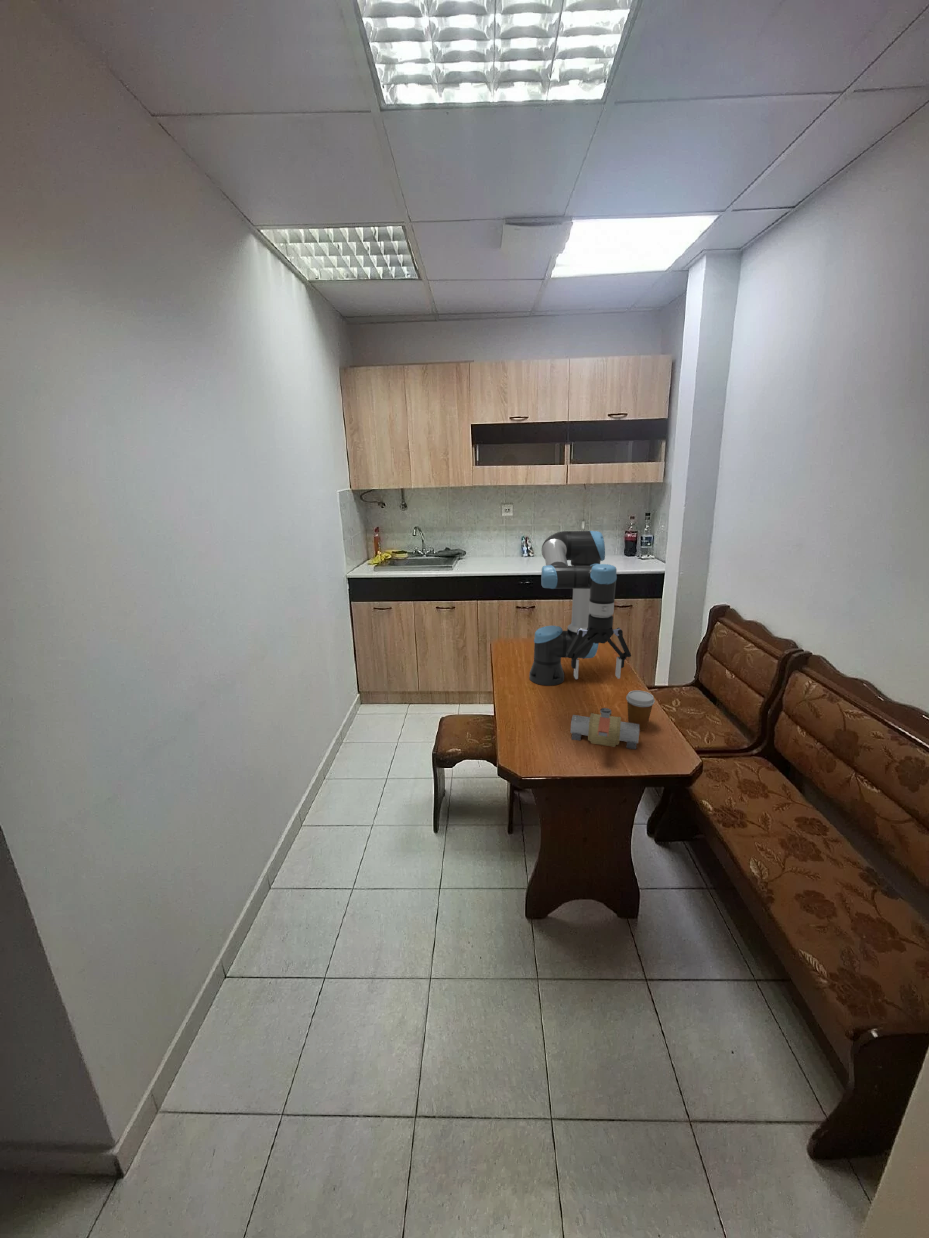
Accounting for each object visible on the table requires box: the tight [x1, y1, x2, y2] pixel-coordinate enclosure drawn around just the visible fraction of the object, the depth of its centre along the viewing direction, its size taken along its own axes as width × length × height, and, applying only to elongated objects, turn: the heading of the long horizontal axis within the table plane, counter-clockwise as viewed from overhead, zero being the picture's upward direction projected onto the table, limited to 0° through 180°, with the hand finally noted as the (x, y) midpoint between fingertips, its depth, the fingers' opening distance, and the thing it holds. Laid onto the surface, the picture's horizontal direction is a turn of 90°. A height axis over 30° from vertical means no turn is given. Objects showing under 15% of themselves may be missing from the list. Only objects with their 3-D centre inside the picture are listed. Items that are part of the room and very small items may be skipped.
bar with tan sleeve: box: [570, 712, 640, 750], centre depth 165 cm, size 22×7×10 cm, turn 71°
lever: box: [598, 707, 612, 737], centre depth 157 cm, size 17×4×2 cm, turn 161°
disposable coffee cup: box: [625, 689, 656, 731], centre depth 172 cm, size 10×10×12 cm
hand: (596, 677), depth 158 cm, fingers open, 13 cm apart
